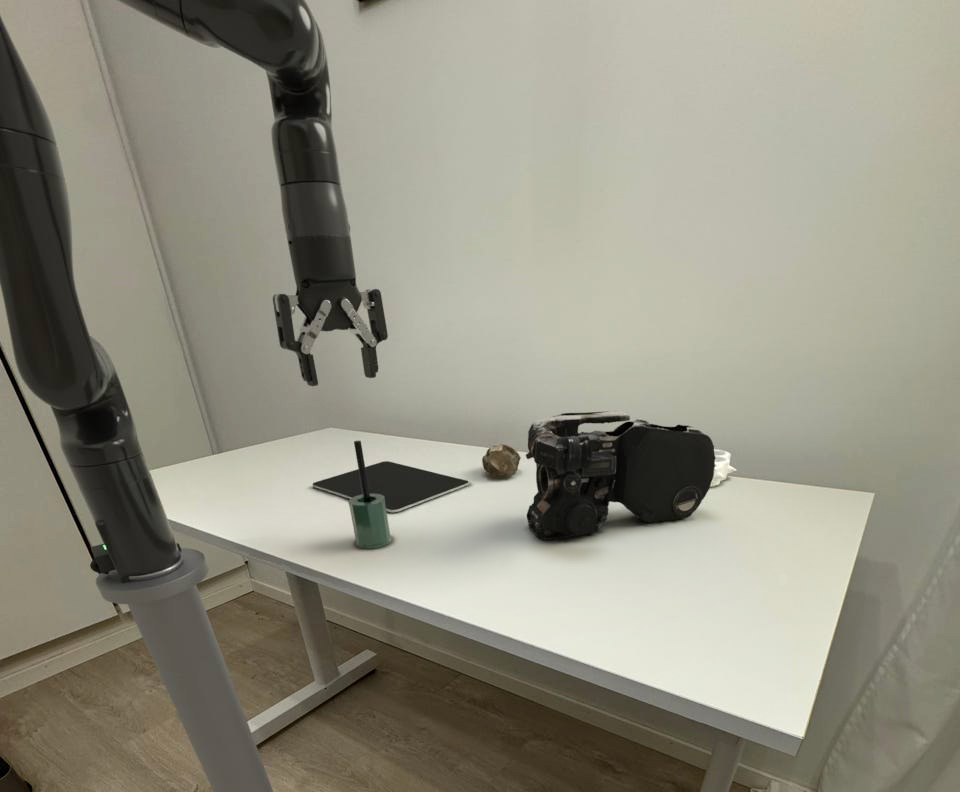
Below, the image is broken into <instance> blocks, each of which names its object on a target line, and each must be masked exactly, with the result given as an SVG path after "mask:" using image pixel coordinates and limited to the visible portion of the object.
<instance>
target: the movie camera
mask: <svg viewBox="0 0 960 792" xmlns="http://www.w3.org/2000/svg"><path fill="white" fill-rule="evenodd" d="M630 419H631V416H630V415H628V414H627V413H625V412H624V411H619V410H617V411H616V410H612V411H592V412H590V411H589V412H565V413H559V414H555V415H550V416H547V417H543V418H539V419H536V420H535V421H533V422H532V423H531V425H530V427H529V429H528V433H527V436H528V437H527V449H528V452H527V453H526V454H525V458H526V459H527V460H530V459H533V461H534V464H536V465H535V468H536V472H535V480H536V482H535V483H536V488H537V489H536V490H537V492H536V494H534V496H533V503H531V505H529V506H528V509H527V513H526V517H527V518H526V519H527V526H528V528H529V530H531V531H532V532H533V533H534V534H535V536H537V537H538V539H540V540H544V541H547V540H548V541H549V540H559V539H562V540H563V539H565V538H570V537H572V538H574V537H581V536H588V535H589V536H593V534H595V533H598V532H599V529H600V528H601V526H602V525H603V523H605V522H607V520H608V515H609V505H610V503H619V504H621V505H623V506H624V507H625V508H626V509H627V510H628V511H629V512H630V513H632V515H633V516H635V517H636V518H638V519H639V520H642V521H643V522H646V523H655V522H663V521H665V522H666V521H674V520H682V519H686V518H687V519H688V518H689V517H691V516H692V515H693V513H695V511H696V510H697V509H698V508H699V506H700V505H701V504H702V501H703V500H704V499H705V497H706V495H707V494H708V492H709V490H710V488H711V487H710V484H711V481H712V479H713V476H714V467H715V459H716V457H715V454H714V450H715V445H714V442H713V440H712V438H711V437H710V436H709V435H708V434H706V433H704V432H702V431H701V430H699V428H696V427H693V426H691V425H684V424H683V425H682V424H677V425H675V426H665V425H658V424H654V423H649V421H647V420H643V419H635V420H631V421H630ZM619 422H620V423H621V422H623V423H622V424H620V425H618V426H617V427H615V429H613V430H611V431H603V430H602V431H601V430H594V431H590V432H589V431H588V432H585V431H581V432H579V426H581V425H584V424H592V425H593V424H601V425H603V424H606V423H607V424H611V423H619ZM537 524H538V525H539V529H538V527H537Z"/></svg>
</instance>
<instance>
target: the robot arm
mask: <svg viewBox="0 0 960 792" xmlns="http://www.w3.org/2000/svg"><path fill="white" fill-rule="evenodd" d="M116 1H118V2H119V3H121V4H123V5H125V6H127V7H129V8H131V9H133V10H135V11H136V12H138V13H140V14H141V15H144V16H146V17H148V18H149V19H152V20H153V21H155V22H158V23H159V24H161V25H163V26H165V27H167V28H169V29H171V30H173V31H175V32H177V33H178V34H181V35H183V36H184V37H187V38H189V39H191V40H193V41H195V42H197V43H199V44H200V45H201V44H202V45H204V46H207V47H210V48H214V49H220V48H224V49H226V50H228V51H230V52H231V53H234V54H235V55H237V56H240V57H241V58H243V59H246V60H247V61H249V62H251V63H253V64H254V65H256V66H257V67H259V68H261V69H262V70H264V71H265V74H266V79H267V81H268V87H269V94H270V99H271V106H272V112H273V113H272V114H273V117H274V119H273V120H274V122H273V123H272V126H271V129H270V130H271V131H270V133H271V147H272V152H273V157H274V164H275V170H276V175H277V180H278V186H279V191H280V201H281V203H280V204H281V213H282V219H283V224H284V229H285V235H286V239H287V245H288V250H289V256H290V261H291V267H292V272H293V277H294V281H295V285H296V292H295V295H294V294H293V295H287V294H286V293H275V294H273V296H272V304H273V310H274V317H275V323H276V329H277V334H278V342H279V343H278V344H279V346H280V348H281V349H283V350H287V351H290V352H294V353H295V354H296V356H297V361H298V365H299V370H300V376H301V378H302V381H304V382H306V384H307V385H308V386H309V387H317V386H319V380H318V374H317V369H316V364H315V358H314V354H312V353H311V350H312V348H313V345H314V343H315V341H316V340H317V338H318V337H319V335H320V333H321V332H332V331H335V330H336V331H349V332H350V333H351V334H352V335H354V337H355V338H356V339H357V341H358V342H359V343H360V344H361V345H362V347H360V352H361V359H362V366H363V373H364V376H365V378H368V379H374V378H376V377H377V373H378V372H379V362H378V354H377V353H378V352H377V346H378V344H380V343H382V342H383V341H386V340H388V337H389V334H388V329H387V322H386V316H385V310H384V304H383V298H382V297H383V296H382V292H381V290H379V289H378V288H370V289H366V290H365V291H364V290H363V291H360V290H359V288H358V286H357V274H356V268H355V267H356V265H355V260H354V253H353V246H352V237H351V226H350V223H349V216H348V209H347V205H346V201H345V197H344V193H343V187H342V182H341V174H340V166H339V160H338V153H337V147H336V142H335V137H334V131H333V113H332V95H331V94H332V93H331V82H330V80H331V79H330V69H329V63H328V56H327V50H326V49H327V48H326V45H325V41H324V38H323V34H322V32H321V29H320V27H319V24H318V23H317V20H316V19H315V16H314V15H313V13H312V11H311V9H310V7H309V5H308V2H307V1H306V0H116ZM5 24H6V23H5V22H4V19H3V18H2V15H1V14H0V290H1V295H2V299H3V304H4V311H5V314H6V315H5V316H6V319H7V325H8V330H9V335H10V341H11V347H12V352H13V357H14V363H15V366H16V369H17V372H18V374H19V377H20V378H21V380H22V382H23V384H25V386H27V388H28V389H29V391H30V392H31V393H32V394H33V395H34V396H35V397H36V398H38V399H39V400H40V401H42V402H43V403H45V404H47V405H48V406H49V407H50V409H51V411H52V413H53V416H54V418H55V421H56V425H57V428H58V434H59V446H60V449H61V452H62V454H63V456H64V458H65V461H66V464H68V467H69V469H70V471H71V473H72V476H73V478H74V480H75V482H76V484H77V487H78V489H79V491H80V493H81V496H82V498H83V500H84V502H85V505H86V507H87V509H88V511H89V513H90V516H91V518H92V520H93V523H94V525H95V527H96V530H97V531H98V534H99V536H100V539H101V541H102V542H103V543H100V544H96V545H93V546H90V550H91V552H92V555H93V558H92V560H91V562H90V564H89V567H90V569H91V571H93V572H94V573H97V574H100V573H102V574H108V573H109V571H113V570H116V573H117V575H118V577H119V578H120V580H121V582H122V583H127V582H132V581H144V580H150V579H154V578H158V577H161V576H164V575H167V574H169V573H171V572H173V571H175V570H177V569H178V568H179V567H181V566H182V565H183V563H184V559H183V557H182V554H181V553H180V551H181V548H182V547H181V545H180V543H178V542H177V541H176V537H175V535H174V532H173V529H172V526H171V524H170V522H169V518H168V516H167V514H166V511H165V509H164V506H163V504H162V500H161V497H160V495H159V492H158V490H157V487H156V485H155V482H154V479H153V476H152V473H151V471H150V468H149V465H148V463H147V460H146V458H145V455H144V452H143V451H142V447H141V444H140V442H139V438H138V434H137V427H136V424H135V420H134V418H133V414H132V412H131V408H130V406H129V403H128V401H127V398H126V395H125V392H124V389H123V385H122V383H121V381H120V378H119V375H118V372H117V369H116V367H115V365H114V363H113V361H112V358H111V356H110V355H109V353H108V352H107V350H106V349H105V347H104V346H103V345H102V344H101V343H100V342H99V341H98V340H97V339H95V338H94V337H92V336H91V335H90V332H89V329H88V326H87V323H86V320H85V317H84V314H83V310H82V307H81V304H80V299H79V295H78V291H77V287H76V283H75V282H76V281H75V275H74V261H73V256H74V255H73V231H72V216H71V207H70V200H69V193H68V187H67V183H66V178H65V174H64V169H63V166H62V160H61V157H60V152H59V148H58V144H57V140H56V137H55V133H54V130H53V127H52V123H51V120H50V118H49V115H48V112H47V111H46V108H45V105H44V103H43V101H42V99H41V96H40V94H39V92H38V90H37V88H36V85H35V84H34V81H33V80H32V77H31V76H30V73H29V72H28V70H27V68H26V66H25V64H24V61H23V60H22V58H21V56H20V53H19V51H18V50H17V48H16V45H15V43H14V40H13V39H12V37H11V35H10V33H9V31H8V29H7V26H6V25H5ZM361 304H362V306H363V307H364V309H366V311H367V315H368V320H369V328H370V329H368V325H367V323H366V322H365V321H364V320H363V319H362V317H361V316H360V314H359V313H358V311H359V309H360V307H361ZM296 307H297V308H298V309H299V310H300V311H301V313H302V314H303V315H304V318H303V320H302V323H301V325H300V328H299V333H298V336H297V338H295V330H294V322H293V317H292V315H294V314H295V312H296ZM181 552H182V551H181Z"/></svg>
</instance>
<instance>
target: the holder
mask: <svg viewBox="0 0 960 792" xmlns="http://www.w3.org/2000/svg"><path fill="white" fill-rule="evenodd" d="M370 500H371V502H366V503H364V498H363V495H358V496H355V497H353V498H351V499H349V500H348V506H349V511H350V517H351V521H352V522H351V523H352V527H353V528H352V529H353V533H354V536H355V543H356V545H357V547H359V548H360V549H365V550H371V549H372V550H374V549H379V548H382V547H385V546H388V545H389V544H390V543H391V541H392V539H391V532H390V524H389V518H388V511H386V505H385V498H384V496H383V495H381V494H370Z"/></svg>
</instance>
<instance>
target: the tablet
mask: <svg viewBox="0 0 960 792" xmlns="http://www.w3.org/2000/svg"><path fill="white" fill-rule="evenodd" d="M365 469H366V476H367V482H368V488H369V494H381V495H383V496H384V498H385V505H386V511H387V513H398V512H401V511H403V510H406V509H409V508H411V507H414V506H417V505H419V504H422V503H424V502H427V501H430V500H432V499H435V498H438V497H440V496H444V495H446V494H448V493H451V492H454V491H457V490H459V489H461V488H462V489H463V488H464V487H466V486H469V481H468V480H466V479H462V478H458V477H455V476H450V475H445V474H442V473H438V472H432V471H430V470H425V469H422V468H418V467H414V466H409V465H405V464H401V463H397V462H393V461H388V460H386V461H380V462H377V463H374V464H370V465H367V466H365ZM312 487H313V488H316V489H319V490H322V491H324V492H328V493H331V494H334V495H337V496H339V497H343V498H346V499H349V500H350V499H351V498H353V497H355V496H358V495H363V492H362V486H361V481H360V475H359V469H358V468H357V469H355V470H350V471H347V472H344V473H341V474H338V475H335V476H331V477H328V478H324V479H321V480H318V481H315V482H314V481H313V483H312Z"/></svg>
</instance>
